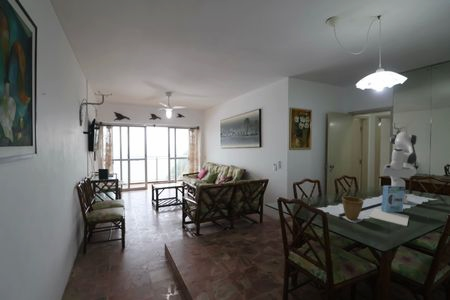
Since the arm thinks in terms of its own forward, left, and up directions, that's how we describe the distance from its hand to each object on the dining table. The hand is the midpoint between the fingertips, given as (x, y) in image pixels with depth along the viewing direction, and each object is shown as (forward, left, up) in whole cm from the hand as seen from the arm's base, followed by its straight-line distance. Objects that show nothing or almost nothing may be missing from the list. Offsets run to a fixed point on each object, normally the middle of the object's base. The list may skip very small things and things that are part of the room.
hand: (395, 181), depth 195 cm
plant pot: (+54, -22, -27) cm, 64 cm away
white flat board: (+25, 0, -27) cm, 37 cm away
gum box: (+8, 0, -26) cm, 28 cm away
